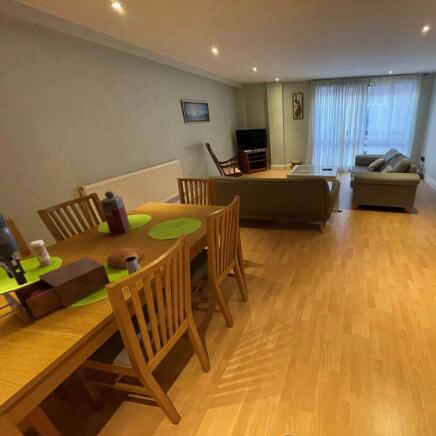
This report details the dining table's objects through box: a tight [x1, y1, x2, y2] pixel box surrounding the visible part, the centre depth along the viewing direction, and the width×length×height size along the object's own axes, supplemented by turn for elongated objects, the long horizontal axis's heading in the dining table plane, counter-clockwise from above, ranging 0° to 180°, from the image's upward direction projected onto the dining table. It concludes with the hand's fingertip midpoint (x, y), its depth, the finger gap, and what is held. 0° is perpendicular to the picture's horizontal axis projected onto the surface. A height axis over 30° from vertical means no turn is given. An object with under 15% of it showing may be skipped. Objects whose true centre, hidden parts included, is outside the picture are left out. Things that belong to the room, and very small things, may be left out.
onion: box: [29, 289, 50, 299], centre depth 93 cm, size 6×6×8 cm
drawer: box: [0, 279, 62, 326], centre depth 91 cm, size 21×14×9 cm, turn 152°
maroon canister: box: [99, 190, 131, 235], centre depth 154 cm, size 9×11×28 cm
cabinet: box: [37, 256, 111, 309], centre depth 102 cm, size 17×15×11 cm
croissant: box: [106, 247, 143, 269], centre depth 125 cm, size 14×16×8 cm
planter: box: [125, 257, 141, 276], centre depth 111 cm, size 4×4×10 cm
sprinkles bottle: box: [29, 239, 53, 268], centre depth 121 cm, size 5×5×13 cm
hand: (18, 280), depth 87 cm, fingers open, 8 cm apart
